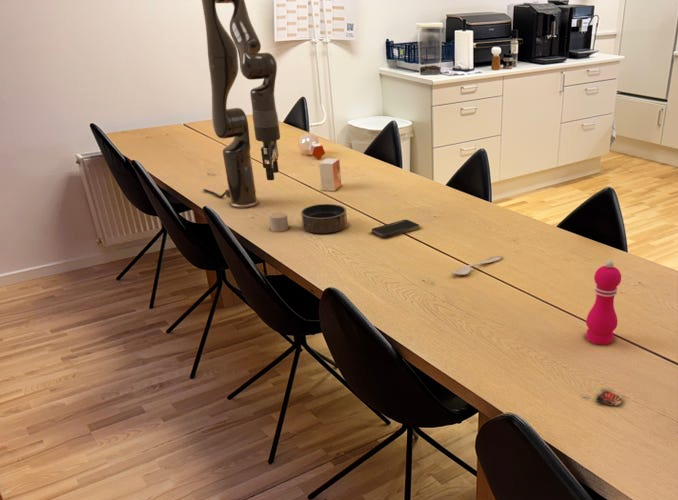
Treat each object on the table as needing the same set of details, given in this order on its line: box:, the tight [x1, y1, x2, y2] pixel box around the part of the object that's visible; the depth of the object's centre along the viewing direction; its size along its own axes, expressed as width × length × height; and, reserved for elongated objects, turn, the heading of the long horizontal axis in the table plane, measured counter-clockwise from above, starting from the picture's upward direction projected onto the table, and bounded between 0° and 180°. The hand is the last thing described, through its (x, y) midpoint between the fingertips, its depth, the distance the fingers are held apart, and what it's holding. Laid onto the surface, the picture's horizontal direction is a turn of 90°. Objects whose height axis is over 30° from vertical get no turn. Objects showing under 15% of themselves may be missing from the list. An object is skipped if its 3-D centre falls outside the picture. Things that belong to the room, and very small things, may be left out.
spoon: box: [451, 256, 502, 276], centre depth 199 cm, size 4×21×2 cm, turn 136°
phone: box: [371, 219, 420, 239], centre depth 225 cm, size 8×1×15 cm
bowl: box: [300, 203, 348, 235], centre depth 227 cm, size 15×15×6 cm
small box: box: [318, 157, 342, 192], centre depth 263 cm, size 8×6×10 cm
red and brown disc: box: [596, 389, 622, 406], centre depth 140 cm, size 5×5×1 cm
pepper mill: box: [585, 259, 622, 345], centre depth 157 cm, size 7×7×20 cm
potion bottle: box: [298, 132, 326, 160], centre depth 306 cm, size 9×10×15 cm
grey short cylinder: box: [268, 211, 290, 232], centre depth 226 cm, size 6×6×5 cm
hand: (273, 176), depth 218 cm, fingers open, 8 cm apart
